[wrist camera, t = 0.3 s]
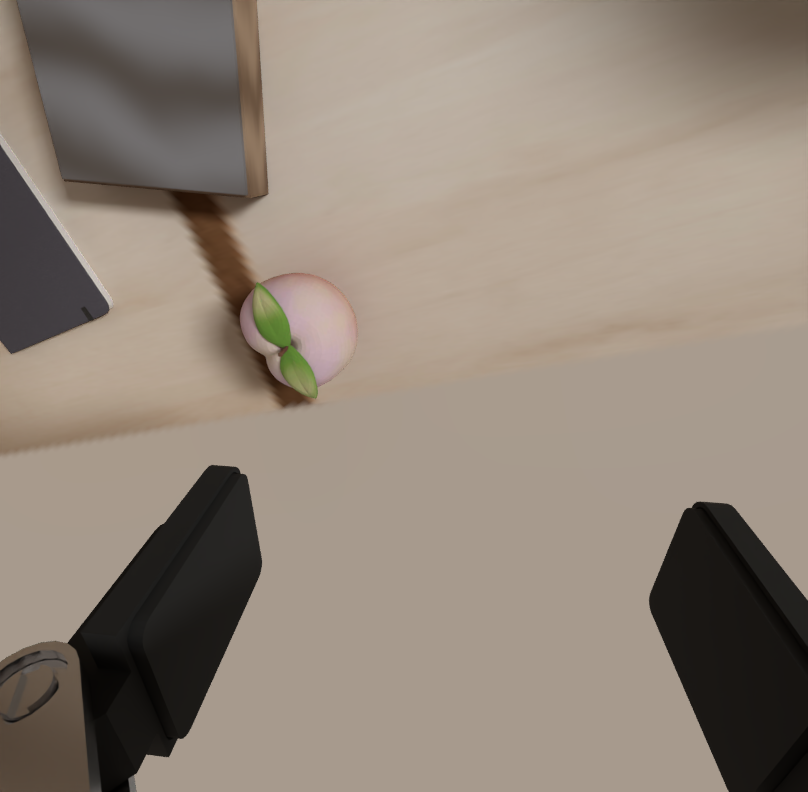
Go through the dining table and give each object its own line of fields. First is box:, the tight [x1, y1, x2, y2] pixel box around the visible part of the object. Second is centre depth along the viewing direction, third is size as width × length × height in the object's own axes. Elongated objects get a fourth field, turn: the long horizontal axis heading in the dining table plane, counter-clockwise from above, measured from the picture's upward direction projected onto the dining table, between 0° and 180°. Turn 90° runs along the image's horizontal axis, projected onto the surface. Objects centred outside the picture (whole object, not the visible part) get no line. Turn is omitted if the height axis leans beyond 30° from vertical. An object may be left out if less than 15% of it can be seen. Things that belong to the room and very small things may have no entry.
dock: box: [17, 0, 268, 198], centre depth 31 cm, size 14×14×4 cm
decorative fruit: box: [240, 273, 358, 399], centre depth 36 cm, size 9×8×10 cm
